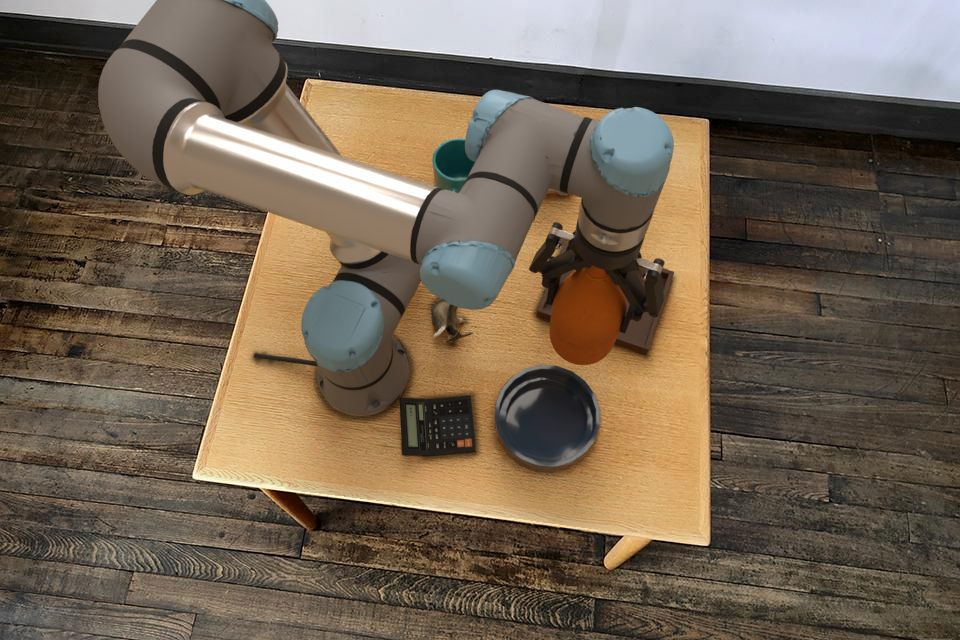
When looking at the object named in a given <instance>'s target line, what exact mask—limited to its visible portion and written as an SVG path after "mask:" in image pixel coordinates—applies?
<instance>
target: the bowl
mask: <svg viewBox="0 0 960 640" xmlns="http://www.w3.org/2000/svg"><path fill="white" fill-rule="evenodd" d="M600 427H601V408H600V405H599V402H598V399H597V396H596V393H595V392H594V390H593V389H592V388H591V387H590V385H589V384H588V382H587V381H586V380H585V379H583V378H582V376H580V375H578V374H577V373H575V372H574V371H572V370H570V369H568V368H564V367H562V366H559V365H553V364H552V365H551V364H538V365H535V366H531V367H527V368H524V369H522V370H520V371H519V372H517V373H516V374H514V375H512V376H511V377H510V378H509V379H508V380H507V382H506V383H505V384H504V385H503V387H502V388H501V389H500V392H499V394H498V396H497V399H496V402H495V407H494V431H495V434H496V437H497V441H498V443H499V445H500V447H501V448H502V450H503V451H504V452H505V454H506V456H507V457H508V458H510V459H511V460H512V461H514V462H515V463H516V464H517V465H518V466H520V467H522V468H525V469H528V470H529V471H532V472H534V473H546V474H554V473H558V472H561V471H562V472H563V471H566V470H569V469H570V468H572V467H574V466H575V465H577V464H578V463H579V462H582V460H584V458H585V457H586V455H587V454H588V453H589V452H590V450H591V449H592V448H593V446H594V443H595V441H596V439H597V436H598V434H599V430H600Z"/></svg>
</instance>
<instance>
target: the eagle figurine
mask: <svg viewBox="0 0 960 640" xmlns="http://www.w3.org/2000/svg"><path fill="white" fill-rule="evenodd" d="M458 308H459V307H457V306H454V305H451V304H449V303H448V302H447V301H445V300H444V299H442V298H439V299H438V301H436V302H435V303H434V304H433V305H432V308H431V310H430V315H431V322H432V325H433V327H434V328H438V330H437V331H436V332H435V333H434V334H433V338H436V337H439V336H440V335H441V334H443V332H445V331H446V333H447V334H448V338H447V341H446V343H450V342H451V344H452V345H454V344H455V342H456V341H458V340H460V339H463V338H466V337H469V336H471V335H473V334H474V331H469V332H465V333H463V332H461V330H458V329H457V326H459V325H460V324H461V323H465V319H464V318H462V317H458V314H457V313H458Z"/></svg>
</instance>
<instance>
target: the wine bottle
mask: <svg viewBox="0 0 960 640" xmlns="http://www.w3.org/2000/svg"><path fill="white" fill-rule="evenodd" d="M626 308H627V303H626V297H625V295H624V294H623V292H622V290H621V289H620V287H619V285H615V284H614V283H613V281H612V279H611V278H610V276H609V275H607V274H606V273H605V271H604V269H599V268H596V267H594V266H591V268H587V267H585V268H583V269H580V270H578V271H576V270H575V271H573V272H572V273H571V274H569V275H568V276H567V277H566V278H565V279H564V280H563V282H562V283H561V284H560V286H559V287H558V289H557V291H556V294H555V297H554V300H553V305H552V311H551V319H550V322H549V340H550V344H551V346H552V348H553V349H554V351H555V352H556V354H557V355H558V356H559V357H560V358H561V359H563V360H564V361H566V362H568V363H570V364H573V365H577V366H590V365H594V364H597V363H599V362H600V361H603V359H605V358H606V357H607V356H608V355H609V353H610V352H612V351H611V350H612V349H613V347H614V345H615V341H616V339H617V337H618V335H619V332H620V329H621V327H622V324H623V321H624V319H625V315H626Z"/></svg>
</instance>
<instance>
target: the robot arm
mask: <svg viewBox="0 0 960 640" xmlns="http://www.w3.org/2000/svg"><path fill="white" fill-rule="evenodd" d="M278 32H279V20H278V17H277V15H276V13H275V12H274V9H273V8H272V7H271V5H270V4H269V3H268V2H267V0H155V2H154V3H153V4H152V5H151V7H150V8H149V9H148V10H147V12H146V13H145V14H144V16H143V17H142V18H141V19H140V20H139V21H138V23H137V24H136V25H135V27H134V28H133V29H132V31H131V32H130V33H129V34H128V36H127V37H126V38H125V39H124V41H122V43H121V45H120V46H118V48H117V49H116V50H115V51H114V52H113V53H112V54H111V55H110V57H109V58H108V59H107V60H106V63H105V65H104V66H103V69H102V71H101V74H100V77H99V80H98V90H97V101H98V102H97V103H98V109H99V112H100V113H99V114H100V117H101V120H102V125H103V126H104V129H105V131H106V133H107V135H108V137H109V138H110V140H111V142H112V144H113V145H114V147H115V148H116V150H117V151H118V152H119V154H120V155H121V156H122V157H123V158H124V159H125V160H126V162H127V163H128V164H130V165H131V166H132V167H133V168H134V169H135V170H136V171H137V172H138V173H140V174H141V175H142V176H144V177H145V178H147V179H148V180H151V181H152V182H153V183H155V184H157V185H159V186H161V187H164V188H167V189H170V190H172V191H174V192H178V193H180V194H184V195H189V196H194V195H197V194H198V195H199V194H201V193H203V192H208V193H211V194H214V195H217V196H220V197H223V198H226V199H228V200H232V201H235V202H237V203H239V204H243V205H246V206H249V207H252V208H255V209H257V210H261V211H263V212H267V213H270V214H272V215H275V216H278V217H280V218H283V219H287V220H291V221H292V222H296V223H299V224H301V225H304V226H307V227H310V228H312V229H315V230H319V231H322V232H324V233H326V234H327V235H328V237H329V250H330V253H331V254H332V256H333V257H334V259H335V260H336V261H337V262H338V263H339V264H340V268H339V269H338V271H337V273H336V275H335V277H334V278H333V280H332V282H331V283H330V284H328V285H327V286H322V287H321V288H319V289H317V291H315V292H314V293H313V295H312V296H310V298H309V299H308V301H307V302H306V304H305V307H304V309H303V312H302V314H301V323H300V325H301V326H300V327H301V333H302V334H301V335H302V338H303V340H304V345H305V348H306V349H307V353H308V354H309V356H310V357H311V358H312V359H313V360H312V359H303V358H297V357H295V358H294V357H289V356H288V357H286V356H279V355H272V354H266V353H258V352H254V354H253V358H255V359H261V360H266V361H272V362H273V361H275V362H281V363H288V364H289V363H290V364H297V365H303V366H304V365H306V366H311V367H312V366H313V367H316V379H317V384H318V388H319V391H320V393H321V395H322V396H323V398H324V399H325V401H326V402H327V403H328V404H329V406H330V407H332V409H334V410H335V411H336V412H339V413H340V414H343V415H345V416H349V417H352V418H371V417H375V416H378V415H381V414H383V413H385V412H386V411H388V410H390V409H391V408H392V407H394V406H395V405H396V404H397V403H399V399H400V398H401V397H403V396H404V394H405V392H406V390H407V388H408V385H409V382H410V377H411V366H410V361H409V358H408V355H407V354H408V351H407V349H406V348H405V346H404V345H403V344H402V342H401V340H400V339H399V337H398V336H397V338H396V337H394V333H395V331H396V330H397V328H398V325H399V324H400V322H401V320H402V318H403V316H404V314H405V312H406V311H407V309H408V307H409V305H410V303H411V302H412V299H414V298H413V297H414V296H415V294H416V292H417V290H418V289H419V286H420V284H421V283H422V284H423V286H424V287H425V288H426V289H427V290H428V292H430V293H431V294H432V295H434V296H435V297H437V298H439V299H441V300H442V299H444V300H445V301H447V302H448V303H449V304H451V305H454V306H457V307H458V308H460V309H465V310H470V311H471V310H472V311H473V310H474V311H476V310H483V309H486V308H488V307H489V306H492V304H493V303H494V302H495V301H496V299H497V297H498V296H499V294H500V292H501V291H502V289H503V287H504V285H505V284H506V282H507V280H508V277H510V275H511V274H512V272H513V270H514V269H515V265H516V261H517V258H518V257H519V254H520V252H521V249H522V247H523V245H524V242H525V241H526V238H527V236H528V233H529V231H530V229H531V227H532V225H533V223H534V221H535V219H536V217H537V215H538V213H539V211H540V209H541V206H542V205H543V203H544V200H545V198H546V196H547V192H548V190H549V188H550V189H553V190H557V191H560V192H563V193H566V194H569V195H572V196H574V197H577V198H580V199H581V200H580V203H579V204H580V205H579V210H578V217H577V220H576V225H575V230H574V231H573V232H569V231H566V230H564V229H563V228H564V227H563V224H562V223H560V222H557V221H554V222H553V223H552V225H551V227H550V229H549V232H548V233H547V236H546V239H545V241H544V242H543V243H542V245H541V246H540V247H539V248H538V250H537V251H536V252H535V253H534V257H533V258H532V260H531V263H530V265H529V267H528V270H529V272H531V273H533V274H538V273H539V274H541V286H542V287H543V288H545V289H546V288H548V295H547V302H546V304H548V305H550V306H551V305H552V303H553V300H554V297H555V294H556V291H557V289H558V287H559V284H560V278H561V275H562V274H565V273H567V272H569V271H572V270H576V271H578V270H580V269H583V268H585V267H587V268H591V266H594V267H596V268H599V269H604V271H605V273H606V274H607V275H609V276H610V278H611V279H612V281H613V283H614V284H615V285H619V287H620V289H621V290H622V292H623V294H624V295H625V297H626V299H627V300H628V302H629V304H630V306H629V308H628V311H627V314H626V316H625V319H624V321H623V324H622V327H621V329H620V332H622V333H624V334H625V332H626V330H627V327H628V325H629V322H630V320H634V321H637V322H638V321H640V319H641V318H642V315H643V313H644V312H648V313H649V315H650V316H652V317H658V315H659V313H660V310H661V307H662V304H663V302H664V294H663V286H662V277H661V272H662V269H663V268H664V266H665V260H664V259H662V258H660V257H659V258H657V257H656V258H654V260H653V261H650V260H647V259H645V258H643V256H642V253H641V249H642V246H643V243H644V241H645V238H646V234H647V232H648V230H649V227H650V225H651V221H652V219H653V215H654V213H655V208H656V207H657V204H658V202H659V199H660V196H661V193H662V191H663V188H664V186H665V183H666V180H667V178H668V175H669V172H670V170H671V162H672V158H673V155H674V154H673V153H674V150H675V149H674V148H675V141H674V135H673V133H672V130H671V128H670V127H669V125H668V123H667V122H666V121H665V120H664V118H662V117H661V116H660V115H658V114H657V113H655V112H654V111H652V110H650V109H647V108H643V107H639V106H634V107H629V108H627V107H626V108H624V107H619V108H615V109H613V110H611V111H609V112H608V113H606V114H604V115H603V117H602V118H600V119H597V118H591V117H588V116H582V115H579V114H577V113H573V112H571V111H568V110H566V109H563V108H559V107H557V106H554V105H552V104H548V103H546V102H542V101H540V100H537V99H536V98H533V97H532V96H530V95H523V94H519V93H516V92H511V91H505V90H500V89H492V90H489V91H487V92H486V93H484V94H483V95H482V96H481V98H479V100H478V101H477V103H476V105H475V107H474V109H473V112H472V116H471V119H470V120H469V122H468V124H467V129H466V134H465V138H464V139H465V150H466V154H467V156H468V158H469V159H470V160H472V161H474V162H475V164H474V166H473V168H472V170H471V171H470V173H469V175H468V177H467V179H466V181H465V183H464V185H463V187H462V189H461V190H460V192H459V193H456V192H453V191H450V190H445V189H442V188H439V187H435V185H432V184H429V183H427V182H423V181H419V180H416V179H413V178H410V177H408V176H405V175H401V174H398V173H395V172H391V171H388V170H386V169H383V168H380V167H377V166H374V165H370V164H367V163H364V162H361V161H357V160H355V159H352V158H349V157H345V156H343V154H342V153H341V152H340V151H339V149H338V148H337V147H336V145H334V143H333V142H332V141H331V139H330V138H329V136H327V134H326V133H325V132H324V130H323V129H322V128H321V126H319V124H318V123H317V121H316V120H315V119H314V117H313V116H312V115H311V114H310V113H309V111H308V110H307V109H306V107H305V106H304V105H303V104H302V102H301V101H300V100H299V99H298V97H297V96H296V95H295V94H294V92H293V91H292V89H291V88H290V87H289V86H288V84H287V79H288V78H287V77H288V72H289V70H288V65H287V62H285V59H284V58H283V57H282V56H281V54H280V53H279V52H278V50H277V49H276V48H275V46H274V45H273V42H275V41H276V40H277V37H278ZM564 244H569V247H570V250H568V251H566V252H564V253H562V254H560V253H559V254H558V255H556V256H553V255H554V253H556V250H560V249H561V247H563V246H564ZM637 269H639V270H640V271H641V274H642V275H643V277H642V280H644V281H645V284H644V286H643V284H642V283H641V281H640V279H639V277H638V275H637V274H636V272H635V270H637ZM644 287H645V288H644ZM664 303H665V302H664Z"/></svg>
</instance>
